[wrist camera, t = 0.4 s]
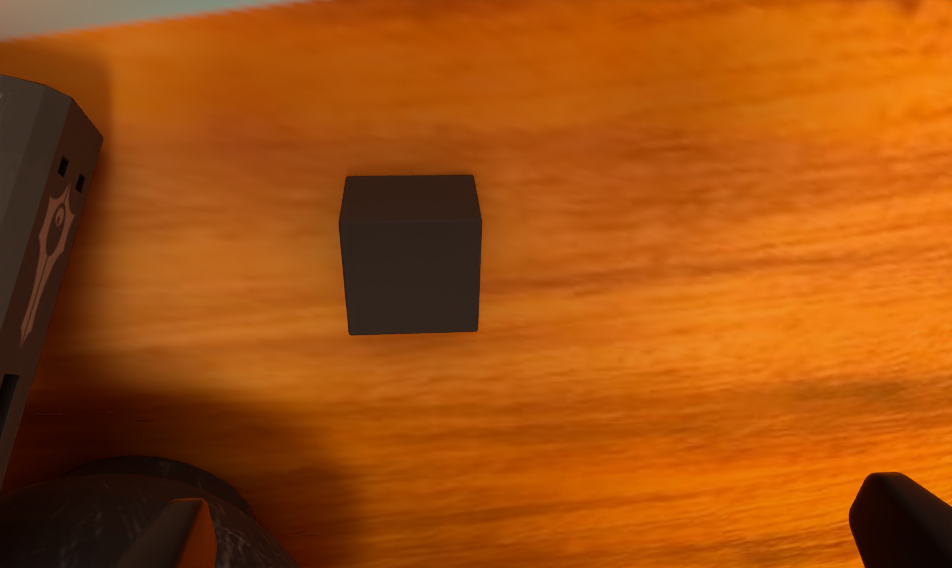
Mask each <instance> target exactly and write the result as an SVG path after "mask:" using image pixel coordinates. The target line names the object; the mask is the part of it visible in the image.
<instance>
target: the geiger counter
mask: <svg viewBox="0 0 952 568" xmlns="http://www.w3.org/2000/svg"><path fill="white" fill-rule="evenodd" d="M102 142H103V136H102V135H101V134H100V133H99V131H98V130H97V129H96V127H95V126H94V125H93V124H92V122H91V121H90V120H89V119H88V117H87V116H86V115H85V113H84V112H83V111H82V110H81V108H80V107H79V106H78V105H77V103H76V102H75V101H74V99H73V98H72V97H70V96H68V95H65V94H63V93H61V92H59V91H57V90H55V89H53V88H51V87H49V86H47V85H43V84H39V83H35V82H31V81H27V80H22V79H18V78H14V77H10V76H5V75H1V74H0V490H1V487H2V483H3V480H4V476H5V473H6V470H7V466H8V463H9V459H10V456H11V452H12V449H13V446H14V442H15V439H16V435H17V432H18V429H19V425H20V422H21V418H22V415H23V412H24V408H25V405H26V401H27V398H28V394H29V391H30V388H31V384H32V381H33V377H34V374H35V371H36V367H37V364H38V360H39V357H40V353H41V350H42V347H43V343H44V340H45V336H46V333H47V330H48V326H49V323H50V319H51V316H52V313H53V309H54V306H55V302H56V299H57V295H58V292H59V289H60V285H61V282H62V278H63V275H64V272H65V268H66V265H67V261H68V258H69V254H70V251H71V248H72V244H73V241H74V237H75V234H76V231H77V227H78V224H79V220H80V217H81V214H82V210H83V207H84V203H85V200H86V196H87V193H88V190H89V186H90V183H91V179H92V176H93V173H94V169H95V166H96V162H97V159H98V156H99V152H100V149H101V145H102Z"/></svg>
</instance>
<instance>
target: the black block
mask: <svg viewBox="0 0 952 568" xmlns="http://www.w3.org/2000/svg"><path fill="white" fill-rule="evenodd" d="M339 232H340V243H341V254H342V265H343V276H344V287H345V298H346V309H347V320H348V331H349V334H350V335H380V334H414V333H448V332H476V331H477V330H478V319H479V291H480V264H481V236H482V218H481V213H480V207H479V202H478V196H477V191H476V186H475V180H474V176H473V175H425V176H348V177H346V180H345V186H344V193H343V199H342V205H341V212H340V218H339Z"/></svg>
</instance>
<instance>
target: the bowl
mask: <svg viewBox="0 0 952 568" xmlns="http://www.w3.org/2000/svg"><path fill="white" fill-rule="evenodd" d="M187 498H202V499H204V500H205V501H206V502H207V505H208V508H209V512H210V516H211V520H212V524H213V528H214V532H215V536H216V543H217V550H216V560H215V567H214V568H300V567H299V566H298V564H297V563H296V561H295V560H294V559H293V558H292V557H291V556H290V554H289V553H288V552H287V551H286V550H285V549H284V547H283V546H282V545H281V544H280V543H279V542H278V540H277V539H276V538H275V537H274V536H273V535H272V534H270V533H269V532H268V531H267V530H266V529H264V528H263V527H262V526H260V525H259V524H258V523H257V522H256V520H255V518H254V516H253V514H252V512H251V510H250V508H249V506H248V504H247V502H246V501H245V500H244V499H243V498H242V497H241V496H240V495H239V494H238V492H237V491H236V490H235V489H234V488H233V487H232V486H230V485H229V484H227V483H226V482H224V481H222V480H221V479H219V478H218V477H216V476H215V475H213V474H211V473H209V472H206V471H204V470H201V469H199V468H196V467H194V466H191V465H189V464H186V463H183V462H178V461H173V460H168V459H163V458H158V457H138V456H122V457H116V458H110V459H103V460H97V461H94V462H92V463H89V464H87V465H84V466H81V467H79V468H76V469H74V470H71V471H70V472H68V473H67V474H65V475H63V476H62V477H60V478H59V479H54V480H50V481H45V482H40V483H36V484H31V485H27V486H22V487H20V488H17V489H14V490H12V491H9V492H6V493H3V494H1V495H0V568H111V567H112V566H113V565H114V564H115V562H116V561H117V560H118V559H119V558H120V557H121V556H122V554H123V553H124V552H125V551H126V550H127V549H128V548H129V547H130V545H131V544H132V543H133V542H134V541H135V540H136V539H137V538H138V536H139V535H140V534H141V533H142V532H143V531H144V530H145V528H146V527H147V526H148V525H149V524H150V523H151V522H152V521H153V519H154V518H155V517H156V516H157V515H158V514H159V513H160V512H161V510H162V509H163V508H164V507H165V506H166V505H167V504H168V503H169V502H171V501H172V500H175V499H187Z"/></svg>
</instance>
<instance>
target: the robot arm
mask: <svg viewBox="0 0 952 568" xmlns="http://www.w3.org/2000/svg"><path fill="white" fill-rule="evenodd" d="M849 524H850V528H851V531H852V534H853V537H854V539H855V542H856V545H857V547H858V550H859V553H860V555H861V558H862V561H863V564H864V566H865V568H952V507H951V506H950V505H948V504H947V503H945V502H944V501H942V500H941V499H939V498H938V497H936V496H935V495H934V494H932V493H931V492H929V491H928V490H926V489H925V488H923V487H922V486H921V485H919V484H918V483H916V482H915V481H913V480H912V479H910V478H909V477H907V476H906V475H904V474H902V473H898V472H879V473H871V474H870V475H868V476H867V477H866V479H865V480H864V482H863V484H862V486H861V488H860V490H859V492H858V494H857V496H856V498H855V500H854V502H853V504H852V506H851V508H850V511H849ZM216 550H217V543H216V536H215V532H214V528H213V524H212V520H211V516H210V512H209V508H208V505H207V502H206V501H205V500H204V499H202V498H187V499H175V500H172V501H171V502H169V503H168V504H167V505H166V506H165V507H164V508H163V509H162V510H161V512H160V513H159V514H158V515H157V516H156V517H155V518H154V519H153V521H152V522H151V523H150V524H149V525H148V526H147V527H146V528H145V530H144V531H143V532H142V533H141V534H140V535H139V536H138V538H137V539H136V540H135V541H134V542H133V543H132V544H131V545H130V547H129V548H128V549H127V550H126V551H125V552H124V553H123V554H122V556H121V557H120V558H119V559H118V560H117V561H116V562H115V564H114V565H113V566H112V567H111V568H214V567H215V560H216Z"/></svg>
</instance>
